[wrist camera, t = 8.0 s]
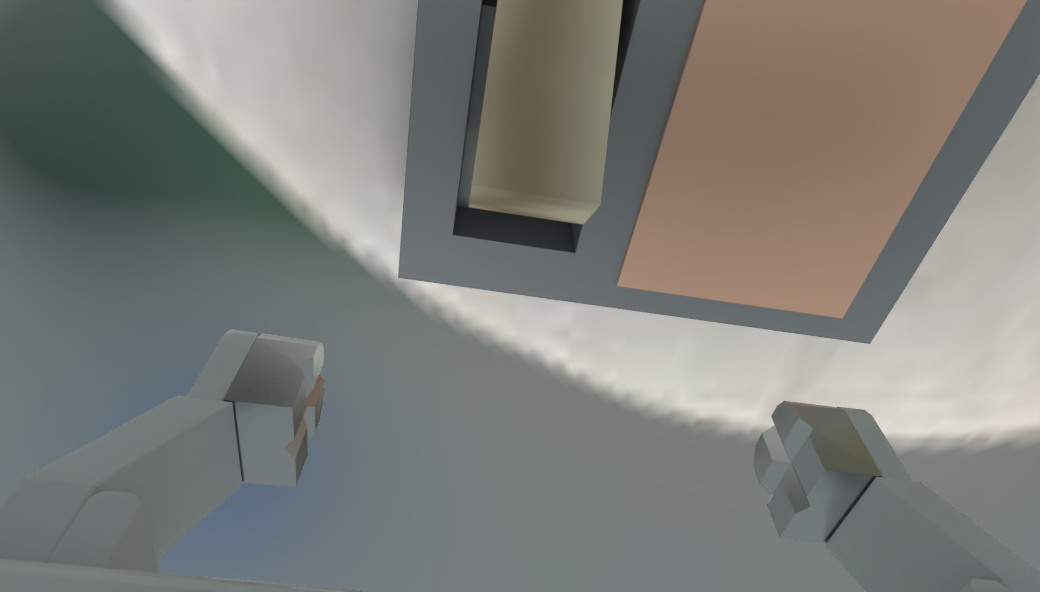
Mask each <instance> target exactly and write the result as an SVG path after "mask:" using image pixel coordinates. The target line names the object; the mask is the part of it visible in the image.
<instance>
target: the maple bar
mask: <svg viewBox="0 0 1040 592" xmlns="http://www.w3.org/2000/svg"><path fill="white" fill-rule="evenodd" d="M622 4H623V0H498V1H497V8H496V15H495V22H494V29H493V37H492V44H491V51H490V58H489V65H488V72H487V79H486V86H485V94H484V101H483V108H482V115H481V122H480V129H479V136H478V143H477V150H476V158H475V165H474V172H473V179H472V186H471V194H470V202H469V207H471V208H478V209H484V210H491V211H498V212H504V213H511V214H517V215H524V216H530V217H537V218H544V219H550V220H557V221H563V222H570V223H576V224H584V223H585V222H586V221H587V220H588V219H589V218H590V216H591V215H592V214H593V213H594V212H595V211H596V210H597V208H598V207H599V206H600V205H601V196H602V187H603V178H604V169H605V160H606V150H607V141H608V132H609V123H610V114H611V105H612V96H613V86H614V77H615V68H616V59H617V50H618V41H619V32H620V22H621V13H622Z"/></svg>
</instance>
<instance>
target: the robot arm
mask: <svg viewBox="0 0 1040 592" xmlns="http://www.w3.org/2000/svg"><path fill="white" fill-rule="evenodd" d="M323 362H324V348H323V344H322V343H321V342H315V341H308V340H301V339H294V338H288V337H281V336H275V335H268V334H258V333H251V332H244V331H237V330H230V331H228V332H227V333H225V334H224V335H223V337H222V338H221V340H220V342H219V344H218V345H217V347H216V348H215V350H214V352H213V353H212V355H211V357H210V358H209V360H208V362H207V363H206V365H205V366H204V368H203V370H202V371H201V373H200V375H199V376H198V378H197V379H196V381H195V383H194V384H193V386H192V388H191V389H190V391H189V393H188V394H187V396H186V397H182V396H176V397H173V398H172V399H170V400H168V401H166V402H164V403H162V404H160V405H159V406H157V407H155V408H153V409H151V410H149V411H148V412H146V413H144V414H142V415H140V416H138V417H136V418H135V419H133V420H131V421H129V422H127V423H125V424H124V425H122V426H120V427H118V428H116V429H114V430H113V431H111V432H109V433H107V434H105V435H103V436H101V437H100V438H98V439H96V440H94V441H92V442H90V443H89V444H87V445H85V446H83V447H81V448H79V449H78V450H76V451H74V452H72V453H70V454H68V455H67V456H65V457H63V458H61V459H59V460H57V461H55V462H54V463H52V464H50V465H48V466H46V467H44V468H43V469H41V470H39V471H37V472H35V473H33V474H31V475H30V476H28V477H26V478H24V479H22V481H21V482H20V483H19V485H18V486H17V487H16V488H15V490H14V491H13V492H12V493H11V495H10V496H9V497H8V498H7V500H6V501H5V502H4V503H3V505H2V506H1V507H0V592H368V591H358V590H357V591H356V590H346V589H335V588H323V587H313V586H302V585H291V584H279V583H269V582H258V581H247V580H234V579H224V578H213V577H202V576H191V575H180V574H168V573H160V570H159V565H158V562H157V559H158V558H159V557H160V556H161V555H162V554H163V553H165V552H166V551H167V550H168V549H169V548H170V547H172V546H173V545H174V544H175V543H176V542H177V541H179V540H180V539H181V538H182V537H183V536H184V535H185V534H187V533H188V532H189V531H190V530H191V529H192V528H194V527H195V526H196V525H197V524H198V523H199V522H201V521H202V520H203V519H204V518H205V517H206V516H208V515H209V514H210V513H211V512H212V511H213V510H215V509H216V508H217V507H218V506H219V505H220V504H222V503H223V502H224V501H225V500H226V499H227V498H229V497H230V496H231V495H232V494H233V493H234V492H236V491H237V490H238V489H239V488H240V487H241V486H242V482H243V483H256V484H269V485H281V486H294V487H295V486H297V484H298V481H299V478H300V475H301V472H302V470H303V467H304V464H305V461H306V458H307V456H308V438H310V437H311V436H313V435H314V434H315V433H316V429H317V426H318V423H319V420H320V416H321V411H322V406H323V399H324V379H323V378H322V377H321V376H320V375H319V373H320V370H321V368H322V365H323ZM772 419H773V422H774V425H775V426H773V427H771V428H770V429H768V430H766V431H765V432H763V433H762V434H761V436H760V438H759V440H758V442H757V444H756V446H755V453H754V468H755V473H756V476H757V479H758V481H759V484H760V485H761V486H762V487H763V488H764V489H765V490H767V492H768V493H769V494H770V495H771V497H770V500H769V502H768V504H767V506H768V508H769V511H770V514H771V516H772V519H773V521H774V524H775V527H776V529H777V532H778V534H779V537H781V538H789V539H796V540H804V541H811V542H819V543H826V545H825V546H826V548H827V549H828V550H829V551H830V552H831V553H832V554H833V555H834V556H835V557H836V559H837V560H838V561H839V562H840V563H841V564H842V565H843V566H844V568H845V569H846V570H847V571H848V572H849V573H850V574H851V575H852V576H853V578H854V579H855V580H856V581H857V582H858V583H859V584H860V585H861V586H862V588H863V589H864V590H865V591H866V592H1040V572H1039V571H1038V570H1037V569H1036V568H1034V567H1033V566H1031V565H1030V564H1029V563H1028V562H1026V561H1025V560H1024V559H1022V558H1021V557H1020V556H1018V555H1017V554H1016V553H1014V552H1013V551H1012V550H1010V549H1009V548H1008V547H1006V546H1005V545H1004V544H1003V543H1001V542H1000V541H998V540H997V539H996V538H994V537H993V536H992V535H991V534H989V533H988V532H987V531H985V530H984V529H983V528H981V527H980V526H979V525H977V524H976V523H975V522H973V521H972V520H971V519H969V518H968V517H967V516H965V515H964V514H963V513H961V512H960V511H959V510H957V509H956V508H955V507H953V506H952V505H951V504H949V503H948V502H947V501H945V500H944V499H942V498H941V497H940V496H939V495H937V494H936V493H935V492H933V491H932V490H931V489H929V488H928V487H927V486H925V485H924V484H923V483H921V482H914V481H912V479H911V478H910V476H909V474H908V473H907V471H906V469H905V468H904V466H903V465H902V463H901V461H900V460H899V458H898V457H897V455H896V453H895V452H894V450H893V449H892V447H891V445H890V444H889V442H888V441H887V439H886V437H885V436H884V434H883V433H882V431H881V429H880V428H879V426H878V425H877V423H876V421H875V420H874V418H873V417H872V415H871V414H869V413H868V412H867V411H865V410H861V409H852V408H843V407H836V408H835V407H830V406H821V405H813V404H805V403H796V402H788V401H783V402H782V403H781V404H779V405H778V406H777V407H776V409H775V411H774V412H773V414H772Z"/></svg>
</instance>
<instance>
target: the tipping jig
mask: <svg viewBox="0 0 1040 592" xmlns="http://www.w3.org/2000/svg"><path fill="white" fill-rule="evenodd" d="M497 1H498V0H418V11H417V25H416V39H415V53H414V67H413V80H412V94H411V108H410V122H409V136H408V149H407V163H406V177H405V191H404V205H403V218H402V232H401V246H400V260H399V274H398V278H405V279H412V280H419V281H426V282H433V283H440V284H447V285H455V286H462V287H469V288H476V289H483V290H490V291H497V292H504V293H512V294H519V295H526V296H533V297H540V298H547V299H554V300H561V301H569V302H576V303H583V304H590V305H597V306H604V307H611V308H618V309H626V310H633V311H640V312H647V313H654V314H661V315H668V316H676V317H683V318H690V319H697V320H704V321H711V322H718V323H725V324H733V325H740V326H747V327H754V328H761V329H768V330H775V331H782V332H790V333H797V334H804V335H811V336H818V337H825V338H832V339H840V340H847V341H854V342H861V343H868V344H870V343H871V341H872V339H873V338H874V336H875V335H876V333H877V332H878V330H879V328H880V327H881V325H882V324H883V322H884V320H885V319H886V317H887V316H888V314H889V312H890V311H891V309H892V308H893V306H894V305H895V303H896V301H897V300H898V298H899V297H900V295H901V293H902V292H903V290H904V289H905V287H906V285H907V284H908V282H909V281H910V279H911V278H912V276H913V274H914V273H915V271H916V270H917V268H918V266H919V265H920V263H921V262H922V260H923V258H924V257H925V255H926V254H927V252H928V250H929V249H930V247H931V246H932V244H933V243H934V241H935V239H936V238H937V236H938V235H939V233H940V231H941V230H942V228H943V227H944V225H945V223H946V222H947V220H948V219H949V217H950V216H951V214H952V212H953V211H954V209H955V208H956V206H957V204H958V203H959V201H960V200H961V198H962V196H963V195H964V193H965V192H966V190H967V189H968V187H969V185H970V184H971V182H972V181H973V179H974V177H975V176H976V174H977V173H978V171H979V169H980V168H981V166H982V165H983V163H984V162H985V160H986V158H987V157H988V155H989V154H990V152H991V150H992V149H993V147H994V146H995V144H996V142H997V141H998V139H999V138H1000V136H1001V135H1002V133H1003V131H1004V130H1005V128H1006V127H1007V125H1008V123H1009V122H1010V120H1011V119H1012V117H1013V115H1014V114H1015V112H1016V111H1017V109H1018V108H1019V106H1020V104H1021V103H1022V101H1023V100H1024V98H1025V96H1026V95H1027V93H1028V92H1029V90H1030V88H1031V87H1032V85H1033V84H1034V82H1035V81H1036V79H1037V77H1038V76H1039V74H1040V0H623V4H622V13H621V22H620V32H619V41H618V50H617V59H616V68H615V77H614V86H613V96H612V105H611V114H610V123H609V132H608V141H607V150H606V160H605V169H604V178H603V187H602V196H601V205H600V206H599V207H598V208H597V210H596V211H595V212H594V213H593V214H592V215H591V216H590V218H589V219H588V220H587V221H586V222H585V223H584V224H576V223H570V222H563V221H557V220H550V219H544V218H537V217H530V216H524V215H517V214H511V213H504V212H498V211H491V210H484V209H478V208H471V207H469V202H470V194H471V186H472V179H473V172H474V165H475V158H476V150H477V143H478V136H479V129H480V122H481V115H482V108H483V101H484V94H485V86H486V79H487V72H488V65H489V58H490V51H491V44H492V37H493V29H494V22H495V15H496V8H497Z"/></svg>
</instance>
